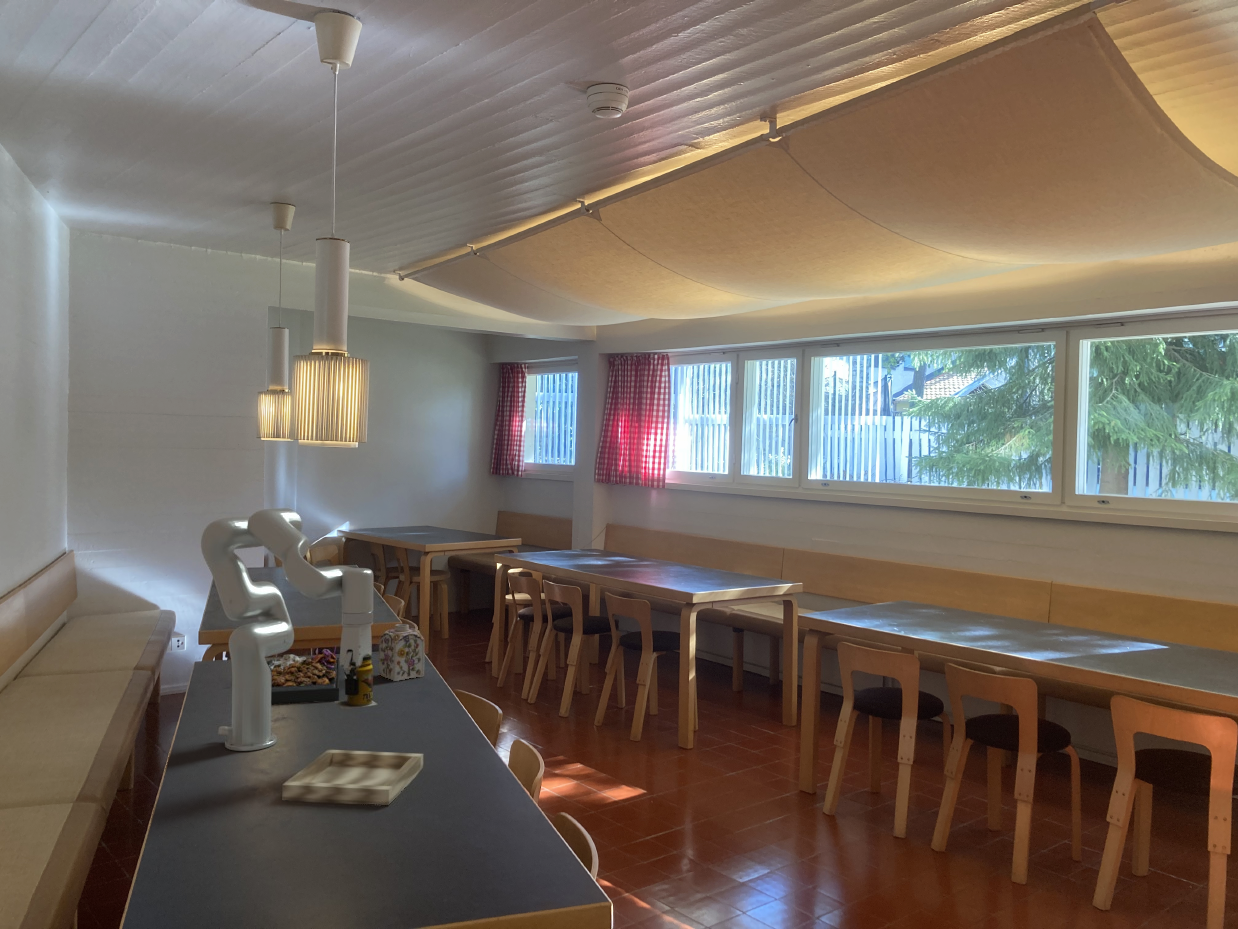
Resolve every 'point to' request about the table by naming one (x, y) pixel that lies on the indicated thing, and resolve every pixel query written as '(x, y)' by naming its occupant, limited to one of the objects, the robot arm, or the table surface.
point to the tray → (353, 777)
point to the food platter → (305, 678)
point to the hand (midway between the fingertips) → (356, 690)
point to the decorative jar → (401, 653)
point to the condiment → (361, 687)
